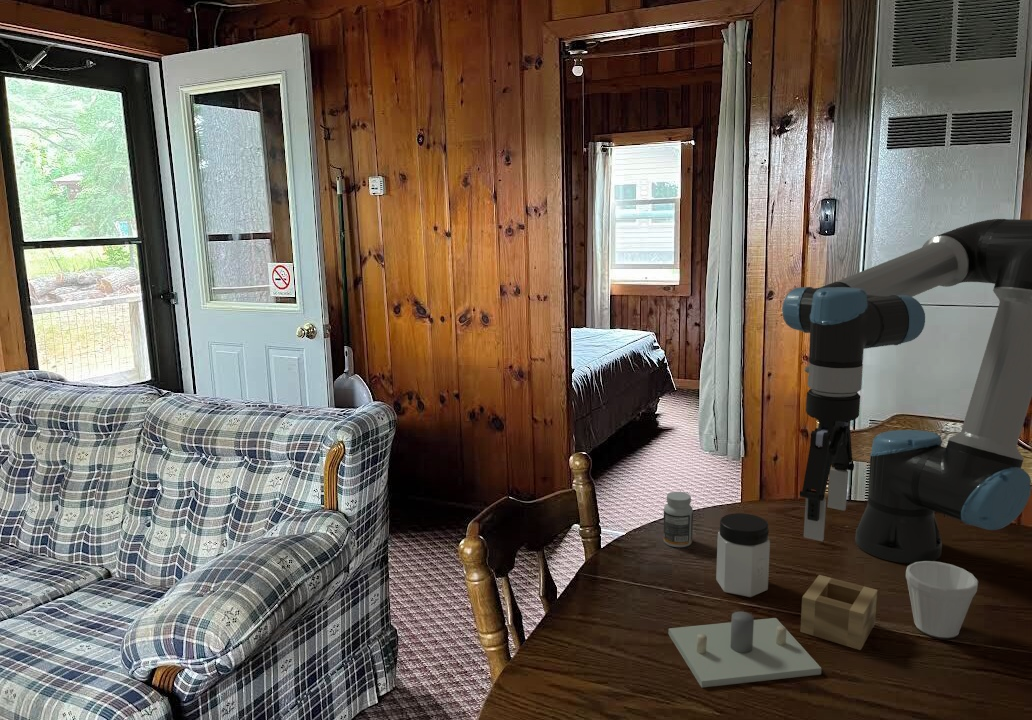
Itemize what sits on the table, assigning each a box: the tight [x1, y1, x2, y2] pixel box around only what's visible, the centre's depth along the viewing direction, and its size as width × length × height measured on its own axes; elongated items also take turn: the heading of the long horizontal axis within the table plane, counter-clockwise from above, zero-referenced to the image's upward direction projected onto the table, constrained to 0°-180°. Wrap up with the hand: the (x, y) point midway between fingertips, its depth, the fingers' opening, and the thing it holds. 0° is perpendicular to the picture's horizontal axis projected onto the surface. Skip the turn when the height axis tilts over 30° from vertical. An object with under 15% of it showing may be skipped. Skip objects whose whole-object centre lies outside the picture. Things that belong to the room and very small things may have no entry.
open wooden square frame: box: [799, 574, 878, 651], centre depth 124 cm, size 9×9×6 cm
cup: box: [905, 561, 979, 640], centre depth 123 cm, size 10×10×9 cm
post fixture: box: [668, 611, 822, 688], centre depth 117 cm, size 18×14×6 cm
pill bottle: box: [662, 491, 694, 548], centre depth 155 cm, size 6×6×10 cm
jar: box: [715, 512, 771, 598], centre depth 137 cm, size 9×8×12 cm
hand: (825, 523), depth 122 cm, fingers open, 13 cm apart
